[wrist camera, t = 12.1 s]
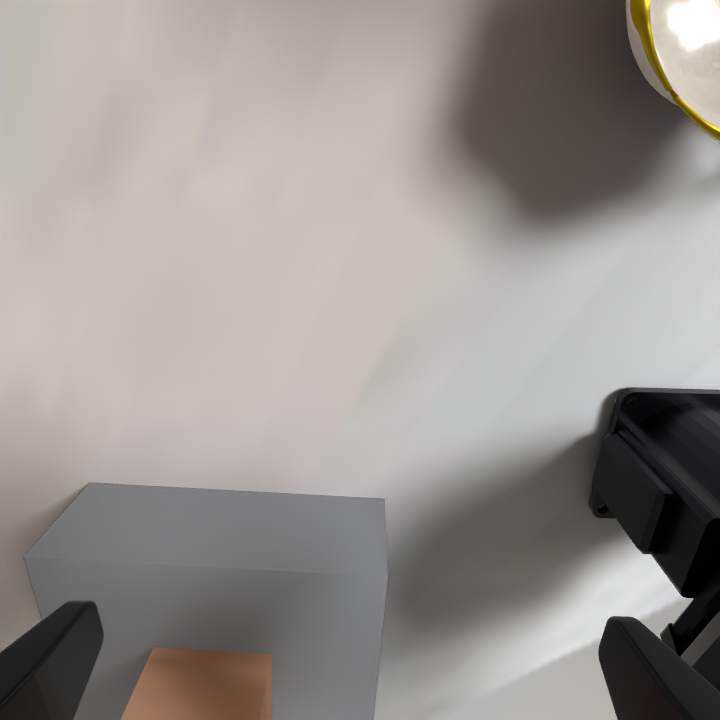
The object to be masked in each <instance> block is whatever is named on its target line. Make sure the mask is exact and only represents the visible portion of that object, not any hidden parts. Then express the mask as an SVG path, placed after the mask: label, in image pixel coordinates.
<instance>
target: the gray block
mask: <svg viewBox="0 0 720 720" xmlns="http://www.w3.org/2000/svg"><path fill="white" fill-rule="evenodd" d="M23 558H24V561H25V565H26V568H27V571H28V575H29V578H30V582H31V585H32V588H33V592H34V595H35V599H36V602H37V605H38V609H39V612H40V616H41V619H42V620H43V619H44V618H46V617H47V616H48V615H50V614H51V613H52V612H54V611H55V610H56V609H57V608H59V607H60V606H61V605H63V604H64V603H66V602H68V601H70V600H92V601H94V602H95V603H96V605H97V609H98V612H99V616H100V620H101V623H102V627H103V631H104V638H103V644H102V647H101V650H100V652H99V655H98V658H97V660H96V663H95V665H94V668H93V671H92V673H91V676H90V678H89V681H88V684H87V686H86V689H85V691H84V694H83V697H82V699H81V702H80V704H79V707H78V710H77V712H76V715H75V717H74V720H121V718H122V715H123V713H124V711H125V709H126V706H127V704H128V702H129V700H130V698H131V695H132V693H133V691H134V689H135V687H136V684H137V682H138V680H139V678H140V676H141V673H142V671H143V669H144V667H145V665H146V662H147V660H148V658H149V656H150V654H151V651H152V649H153V647H164V648H180V649H196V650H212V651H227V652H243V653H259V654H272V720H373V719H374V709H375V700H376V690H377V680H378V671H379V661H380V651H381V641H382V632H383V622H384V612H385V603H386V593H387V583H388V563H387V542H386V521H385V500H384V499H379V498H360V497H342V496H324V495H306V494H288V493H270V492H252V491H233V490H215V489H197V488H179V487H161V486H143V485H124V484H106V483H89V484H88V485H87V486H86V487H85V488H84V489H83V491H82V492H81V493H80V494H79V495H78V496H77V497H76V498H75V500H74V501H73V502H72V503H71V504H70V505H69V506H68V507H67V509H66V510H65V511H64V512H63V513H62V514H61V515H60V516H59V517H58V519H57V520H56V521H55V522H54V523H53V524H52V525H51V526H50V528H49V529H48V530H47V531H46V532H45V533H44V534H43V535H42V536H41V538H40V539H39V540H38V541H37V542H36V543H35V544H34V545H33V547H32V548H31V549H30V550H29V551H28V552H27V553H26V554H25V555H24V557H23Z"/></svg>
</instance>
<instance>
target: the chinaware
mask: <svg viewBox="0 0 720 720" xmlns="http://www.w3.org/2000/svg"><path fill="white" fill-rule="evenodd" d="M626 24H627V30H628V37H629V42H630V45H631V49H632V52H633V55H634V57H635V60H636V62H637V64H638V66H639V68H640V70H641V72H642V73H643V75H644V77H645V79H646V80H648V82H649V84H650V85H651V86H652V87H653V88H654V89H655V90H657V91H658V92H659V93H660V94H661V95H662V96H664V97H665V98H666V99H668V100H669V101H670V102H672V103H673V104H675V105H677V106H679V107H680V108H681V109H682V110H683V111H684V112H685V114H686V115H687V116H688V117H689V118H690V119H691V120H692V121H693V122H694V123H695V124H696V125H697V126H698V127H699V128H700V129H701V130H702V131H704V132H705V133H706V134H708V135H709V136H711V137H712V138H714V139H715V140H717V141H718V142H719V144H720V0H626Z"/></svg>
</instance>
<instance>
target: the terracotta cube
mask: <svg viewBox="0 0 720 720" xmlns="http://www.w3.org/2000/svg"><path fill="white" fill-rule="evenodd" d="M121 720H272V654H259V653H243V652H227V651H212V650H196V649H180V648H164V647H153V649H152V651H151V654H150V656H149V658H148V660H147V662H146V665H145V667H144V669H143V671H142V673H141V676H140V678H139V680H138V682H137V684H136V687H135V689H134V691H133V693H132V695H131V698H130V700H129V702H128V704H127V706H126V709H125V711H124V713H123V715H122V718H121Z"/></svg>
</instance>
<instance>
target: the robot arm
mask: <svg viewBox="0 0 720 720" xmlns="http://www.w3.org/2000/svg"><path fill="white" fill-rule="evenodd" d="M633 397H635V399H634V400H633V402H631V403H628V404H627V402H628V400H629V399H631V398H633ZM592 485H593V490H592V493H591V497H590V501H589V508H590V509H591V511H592V513H593V514H594V515H595V516H596V517H599V518H616V519H617V520H618V522H619V523H620V524H621V526H622V527H623V529H624V530H625V532H626V533H627V534H628V536H629V537H630V539H631V540H632V541H633V543H634V544H635V546H636V547H637V548H638V549H639V550H640V551H641V552H642V553H643V554H651V555H652V556H653V558H654V559H655V560H656V562H657V563H658V564H659V566H660V567H661V568H662V570H663V571H664V573H665V574H666V575H667V577H668V578H669V579H670V581H671V582H672V583H673V585H674V586H675V588H676V589H677V590H678V592H679V593H680V594H681V595H682V596H683V597H685V598H694V599H693V600H692V601H691V602H690V604H689V605H688V606H687V608H686V609H685V610H684V611H683V612H682V614H681V615H680V616H679V617H678V618H677V620H676V621H675V622H674V623H673V624H672V623H671V624H670V623H669V624H668V625H667V627H666V628H665V629H664V630H663V631H662V633H661V634H660V636H661V639H662V640H660V639H659V638H658V637H657V636H656V635H655V634H654V633H652V632H651V631H650V630H649V629H648V628H647V627H646V626H645V625H643V624H642V623H641V622H640V621H639V620H637V619H635V618H633V617H620V616H613V617H610V618H609V619H608V621H607V623H606V626H605V629H604V633H603V636H602V639H601V642H600V645H599V652H598V653H599V661H600V664H601V668H602V671H603V674H604V677H605V681H606V684H607V687H608V690H609V694H610V697H611V700H612V703H613V706H614V710H615V713H616V716H617V719H618V720H720V390H703V389H667V388H626V389H624V390H622V391H621V392H620V393H619V394H618V396H617V398H616V402H615V406H614V409H613V413H612V417H611V421H610V425H609V429H608V432H607V435H606V436H605V437H604V438H603V442H602V446H601V449H600V453H599V457H598V461H597V465H596V469H595V472H594V476H593V480H592ZM602 505H604V506H603V507H601V508H599V507H600V506H602ZM103 638H104V631H103V627H102V623H101V620H100V616H99V612H98V609H97V605H96V603H95V602H94V601H92V600H70V601H68V602H66V603H64V604H63V605H61V606H60V607H59V608H57V609H56V610H55V611H54V612H52V613H51V614H50V615H48V616H47V617H46V618H44V619H43V620H42V621H40V622H39V623H38V624H37V625H35V626H34V627H33V628H31V629H30V630H29V631H27V632H26V633H25V634H24V635H22V636H21V637H20V638H18V639H17V640H16V641H14V642H13V643H12V644H11V645H9V646H8V647H7V648H5V649H4V650H3V651H1V652H0V720H74V717H75V715H76V712H77V710H78V707H79V704H80V702H81V699H82V697H83V694H84V691H85V689H86V686H87V684H88V681H89V678H90V676H91V673H92V671H93V668H94V665H95V663H96V660H97V658H98V655H99V652H100V650H101V647H102V644H103Z"/></svg>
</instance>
